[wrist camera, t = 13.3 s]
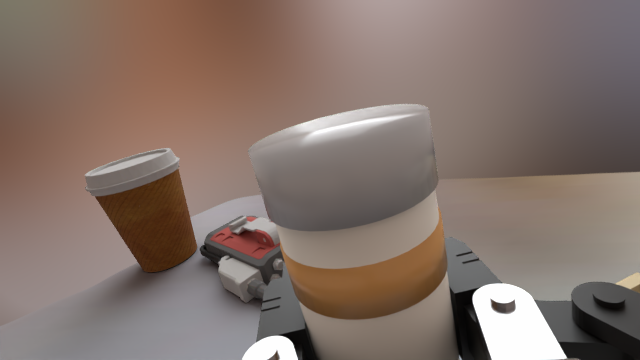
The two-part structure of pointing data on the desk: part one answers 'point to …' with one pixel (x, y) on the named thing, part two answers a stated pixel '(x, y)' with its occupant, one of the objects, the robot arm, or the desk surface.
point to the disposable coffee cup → (146, 207)
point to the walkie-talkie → (246, 255)
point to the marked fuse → (362, 232)
